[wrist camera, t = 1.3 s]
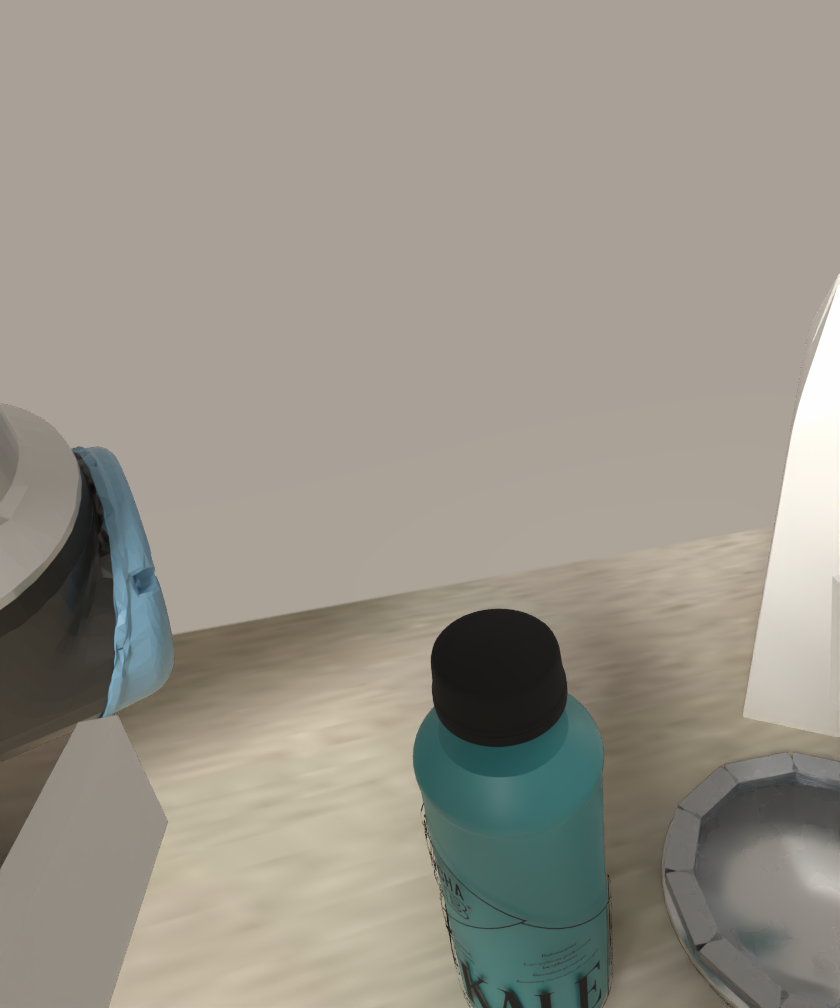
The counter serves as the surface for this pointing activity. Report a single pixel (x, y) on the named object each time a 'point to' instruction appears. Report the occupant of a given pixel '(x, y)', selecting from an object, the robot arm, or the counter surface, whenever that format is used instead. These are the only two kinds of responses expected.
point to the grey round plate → (760, 881)
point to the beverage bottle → (515, 815)
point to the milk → (804, 549)
